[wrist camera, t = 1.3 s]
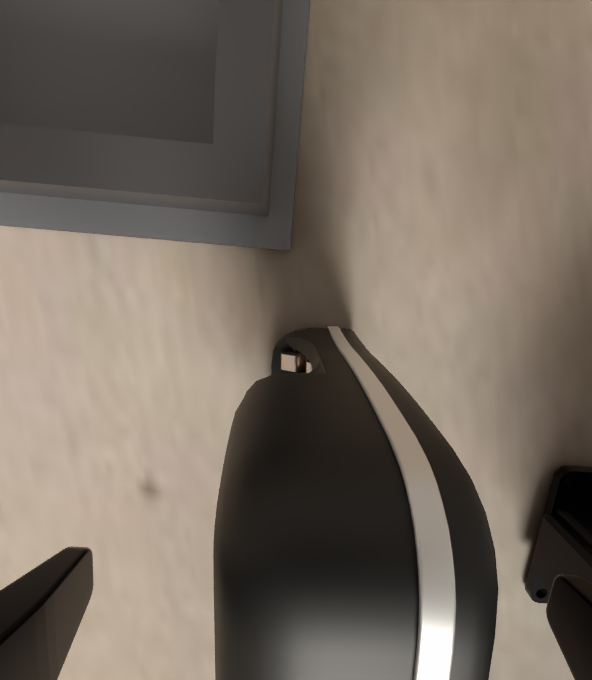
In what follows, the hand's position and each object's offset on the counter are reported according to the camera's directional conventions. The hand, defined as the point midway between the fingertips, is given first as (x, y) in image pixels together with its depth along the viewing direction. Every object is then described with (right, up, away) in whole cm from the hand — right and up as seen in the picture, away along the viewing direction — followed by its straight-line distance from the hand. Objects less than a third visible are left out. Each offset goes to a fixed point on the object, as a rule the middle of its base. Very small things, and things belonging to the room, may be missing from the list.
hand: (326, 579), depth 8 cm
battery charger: (0, +2, +9) cm, 9 cm away
